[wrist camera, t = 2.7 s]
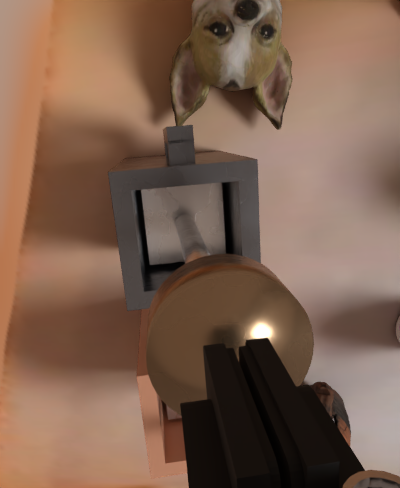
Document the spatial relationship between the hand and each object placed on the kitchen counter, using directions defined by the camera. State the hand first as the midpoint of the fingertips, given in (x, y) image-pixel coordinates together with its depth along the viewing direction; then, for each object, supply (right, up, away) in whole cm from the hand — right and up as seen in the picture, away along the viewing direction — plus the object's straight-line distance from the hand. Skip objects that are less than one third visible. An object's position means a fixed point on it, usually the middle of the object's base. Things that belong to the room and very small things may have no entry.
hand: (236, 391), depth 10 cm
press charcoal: (-3, +9, +27) cm, 29 cm away
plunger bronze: (-2, +5, +19) cm, 20 cm away
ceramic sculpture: (+1, +22, +25) cm, 33 cm away
